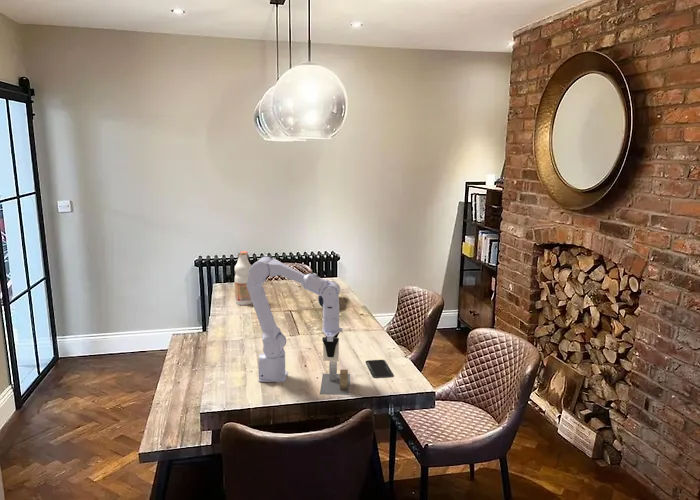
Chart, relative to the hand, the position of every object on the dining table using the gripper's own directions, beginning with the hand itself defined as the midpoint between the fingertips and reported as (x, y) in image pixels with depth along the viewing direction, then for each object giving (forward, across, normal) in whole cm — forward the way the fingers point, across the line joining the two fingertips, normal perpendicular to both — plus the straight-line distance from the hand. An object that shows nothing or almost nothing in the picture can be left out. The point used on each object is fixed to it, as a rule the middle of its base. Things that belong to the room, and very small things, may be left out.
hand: (331, 353), depth 178 cm
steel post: (+10, +1, -1) cm, 10 cm away
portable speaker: (+11, +94, +6) cm, 95 cm away
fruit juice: (+10, +92, +52) cm, 106 cm away
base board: (+10, -3, -2) cm, 11 cm away
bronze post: (+10, -6, -5) cm, 13 cm away
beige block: (+2, 0, 0) cm, 2 cm away
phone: (+11, +10, -18) cm, 23 cm away
